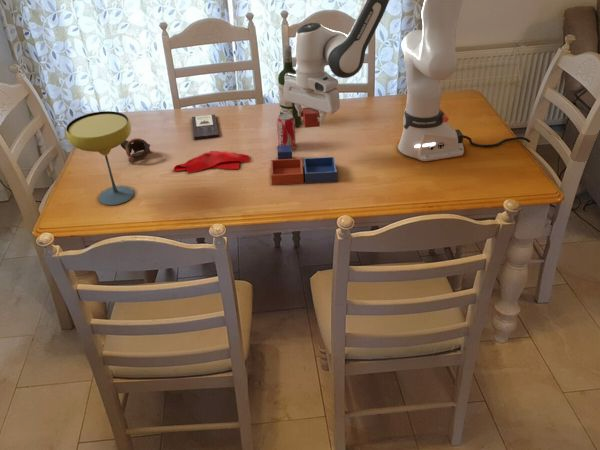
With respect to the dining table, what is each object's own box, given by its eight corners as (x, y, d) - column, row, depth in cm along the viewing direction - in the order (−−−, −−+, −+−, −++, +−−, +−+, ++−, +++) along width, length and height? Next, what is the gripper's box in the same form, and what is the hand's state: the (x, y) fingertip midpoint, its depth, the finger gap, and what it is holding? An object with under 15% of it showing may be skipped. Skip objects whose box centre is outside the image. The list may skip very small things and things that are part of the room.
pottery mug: (158, 152, 201) (154, 140, 194) (146, 174, 198) (141, 162, 190) (128, 141, 203) (123, 128, 195) (115, 162, 199) (109, 150, 191)
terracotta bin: (301, 167, 189) (301, 158, 187) (303, 183, 181) (303, 173, 179) (271, 168, 189) (271, 159, 187) (271, 184, 180) (271, 175, 178)
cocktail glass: (145, 207, 172) (128, 133, 157) (84, 216, 169) (61, 141, 155) (145, 178, 186) (130, 107, 172) (89, 185, 184) (68, 114, 169)
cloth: (250, 150, 200) (249, 144, 199) (250, 169, 189) (249, 163, 187) (177, 154, 199) (176, 149, 198) (172, 174, 188) (171, 168, 186)
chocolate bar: (194, 137, 207) (191, 117, 222) (194, 139, 208) (192, 119, 222) (218, 134, 208) (214, 114, 223) (218, 136, 209) (215, 116, 223)
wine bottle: (276, 125, 215) (272, 47, 198) (287, 117, 221) (284, 41, 203) (294, 129, 212) (290, 51, 194) (304, 121, 217) (302, 44, 200)
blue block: (291, 157, 195) (291, 145, 192) (292, 164, 191) (291, 151, 188) (278, 158, 195) (277, 145, 192) (278, 164, 191) (277, 152, 188)
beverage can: (293, 151, 198) (292, 120, 191) (276, 150, 199) (274, 119, 192) (297, 143, 203) (296, 112, 196) (280, 142, 204) (278, 111, 197)
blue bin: (333, 165, 189) (333, 156, 187) (336, 181, 181) (337, 172, 179) (303, 167, 189) (303, 158, 187) (305, 183, 181) (305, 173, 179)
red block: (317, 120, 186) (317, 106, 183) (319, 126, 182) (319, 112, 179) (302, 121, 185) (302, 107, 182) (305, 127, 181) (304, 114, 179)
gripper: (278, 74, 178) (280, 114, 186) (330, 88, 167) (330, 130, 175) (290, 68, 182) (292, 108, 190) (342, 81, 171) (342, 123, 179)
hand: (311, 119), depth 182 cm, fingers closed on red block, 7 cm apart
